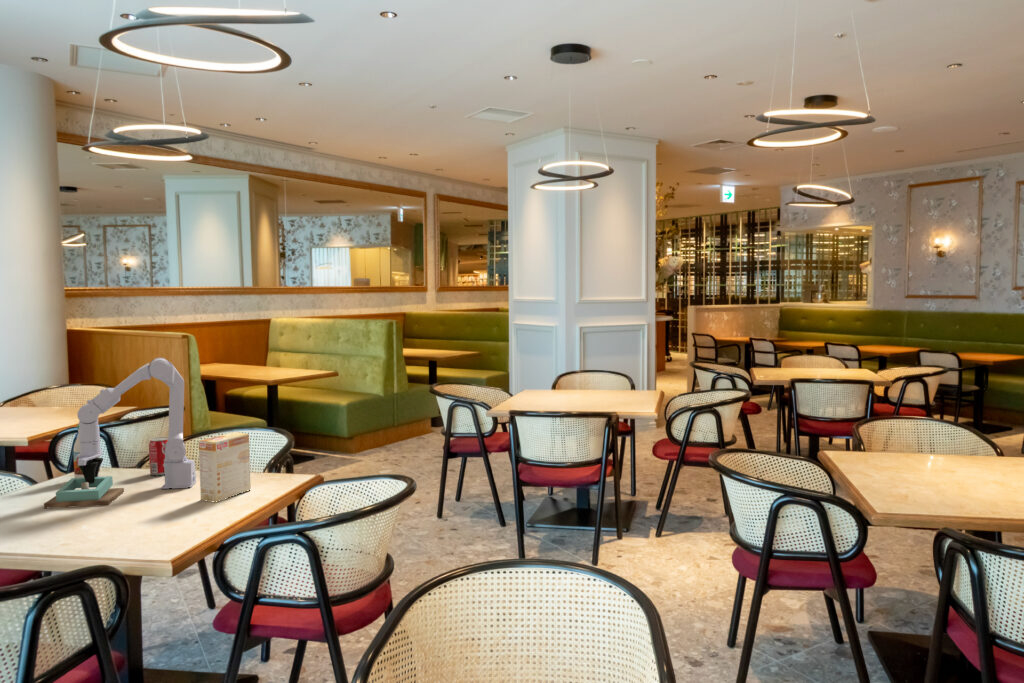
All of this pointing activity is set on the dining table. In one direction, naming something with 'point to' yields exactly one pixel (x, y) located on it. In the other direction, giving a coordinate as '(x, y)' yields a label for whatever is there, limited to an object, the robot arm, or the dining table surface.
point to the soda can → (157, 455)
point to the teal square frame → (87, 494)
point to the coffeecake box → (224, 466)
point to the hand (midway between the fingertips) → (91, 482)
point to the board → (104, 500)
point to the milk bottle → (77, 470)
